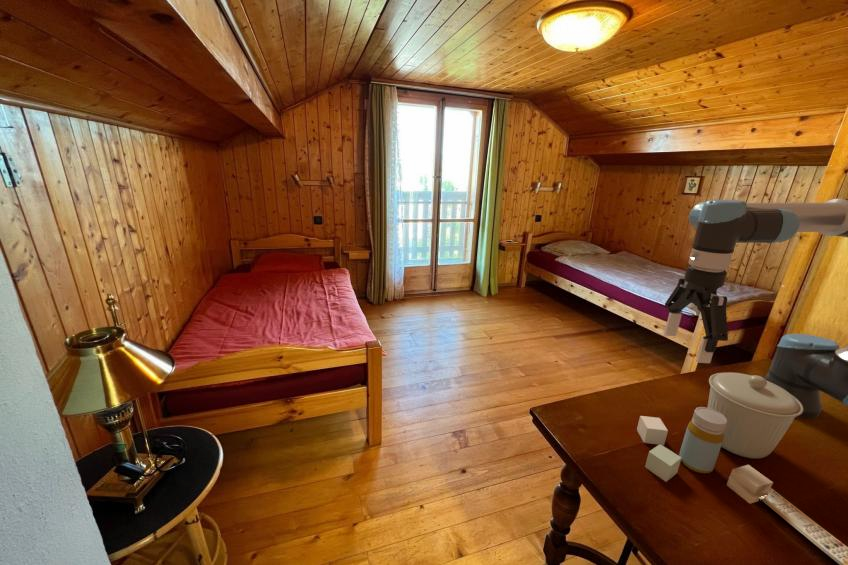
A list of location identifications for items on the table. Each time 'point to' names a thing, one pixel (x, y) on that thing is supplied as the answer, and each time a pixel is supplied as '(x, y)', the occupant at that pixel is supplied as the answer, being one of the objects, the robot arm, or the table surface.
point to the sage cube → (663, 462)
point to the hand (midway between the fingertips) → (685, 347)
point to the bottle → (703, 440)
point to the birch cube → (749, 483)
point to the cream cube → (652, 430)
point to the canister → (752, 412)
